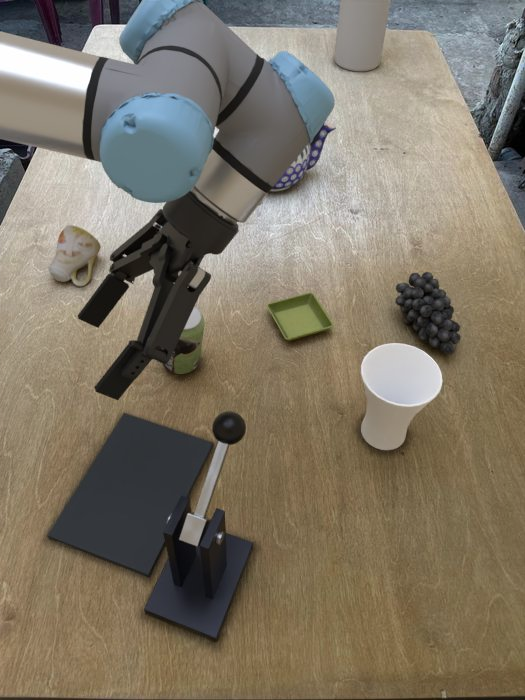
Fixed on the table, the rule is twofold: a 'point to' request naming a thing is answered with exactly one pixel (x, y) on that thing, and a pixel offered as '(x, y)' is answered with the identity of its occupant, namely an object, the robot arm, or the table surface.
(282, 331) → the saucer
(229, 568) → the bracket
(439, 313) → the fruit
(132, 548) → the slate mat
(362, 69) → the cylinder vase
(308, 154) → the teapot
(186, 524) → the tap lever
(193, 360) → the beverage can
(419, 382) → the cup
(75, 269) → the mug
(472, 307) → the table surface
